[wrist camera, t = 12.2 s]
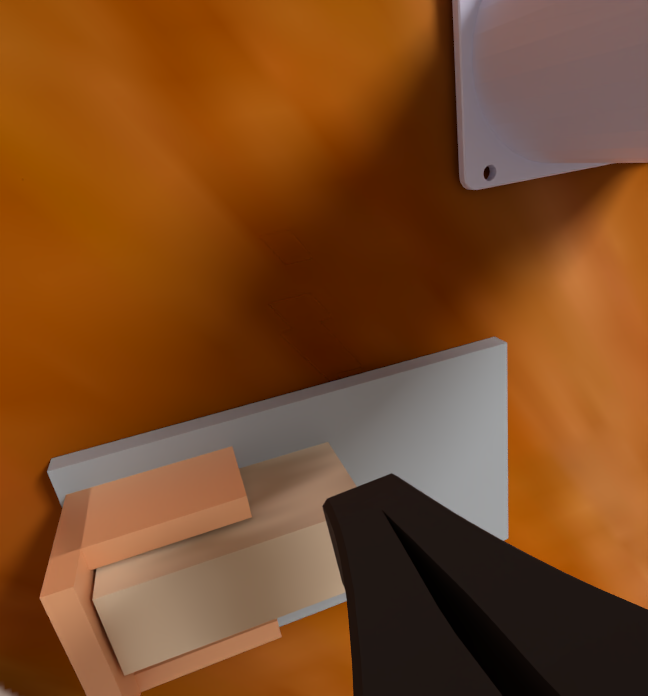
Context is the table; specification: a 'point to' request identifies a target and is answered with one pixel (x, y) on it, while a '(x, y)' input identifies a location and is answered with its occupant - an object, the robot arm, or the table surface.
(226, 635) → the beige rectangular block
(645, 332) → the table surface
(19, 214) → the table surface
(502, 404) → the board
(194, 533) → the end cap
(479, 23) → the robot arm
